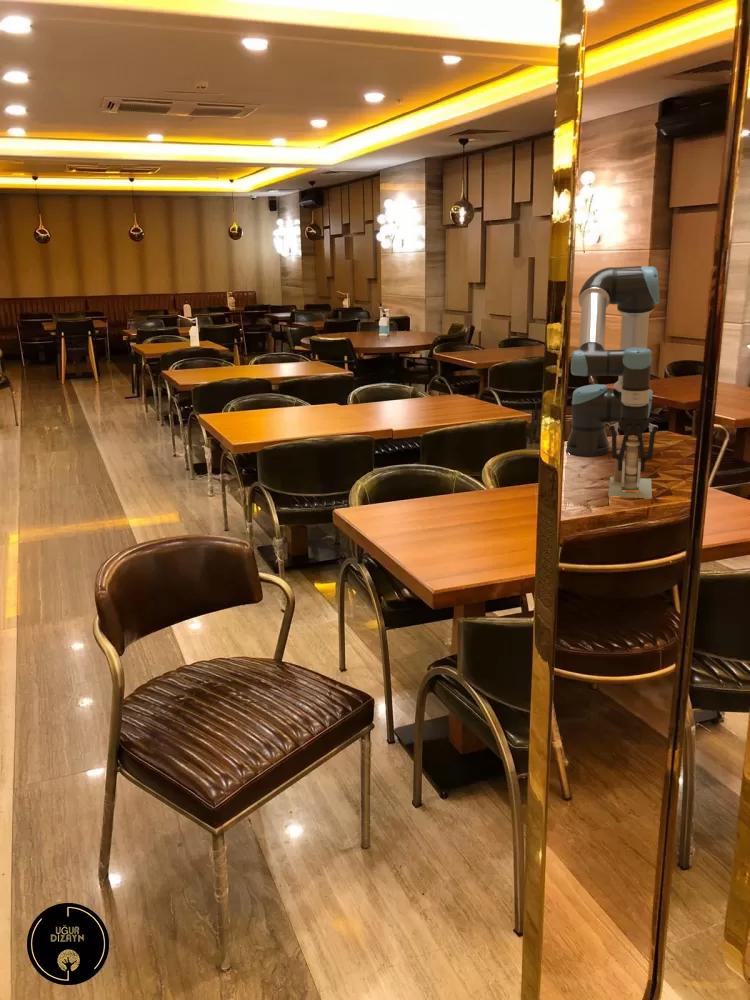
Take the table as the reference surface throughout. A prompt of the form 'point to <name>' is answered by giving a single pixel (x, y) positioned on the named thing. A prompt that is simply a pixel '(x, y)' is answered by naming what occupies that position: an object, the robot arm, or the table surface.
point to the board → (617, 488)
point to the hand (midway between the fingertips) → (630, 481)
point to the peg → (631, 463)
